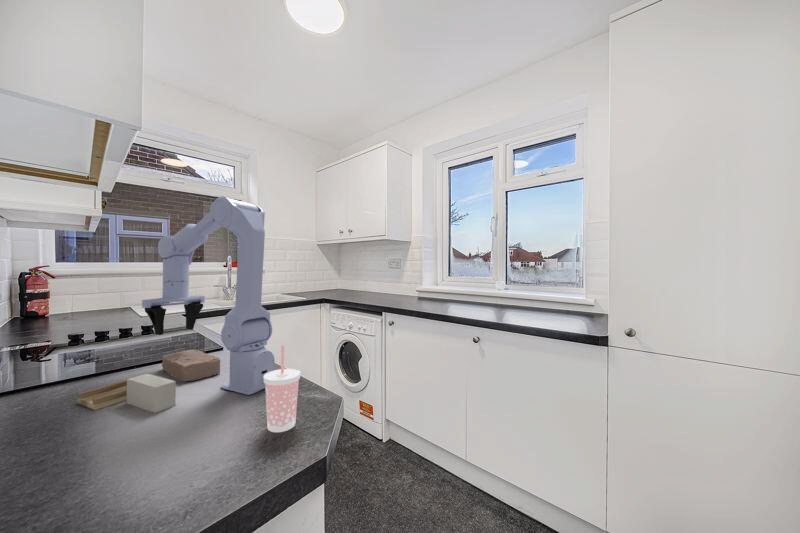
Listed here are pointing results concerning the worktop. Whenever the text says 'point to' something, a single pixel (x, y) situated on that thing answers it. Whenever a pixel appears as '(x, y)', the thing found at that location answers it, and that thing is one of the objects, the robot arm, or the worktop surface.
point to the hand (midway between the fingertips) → (175, 331)
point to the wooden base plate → (104, 395)
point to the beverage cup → (281, 397)
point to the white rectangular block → (151, 392)
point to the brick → (191, 365)
